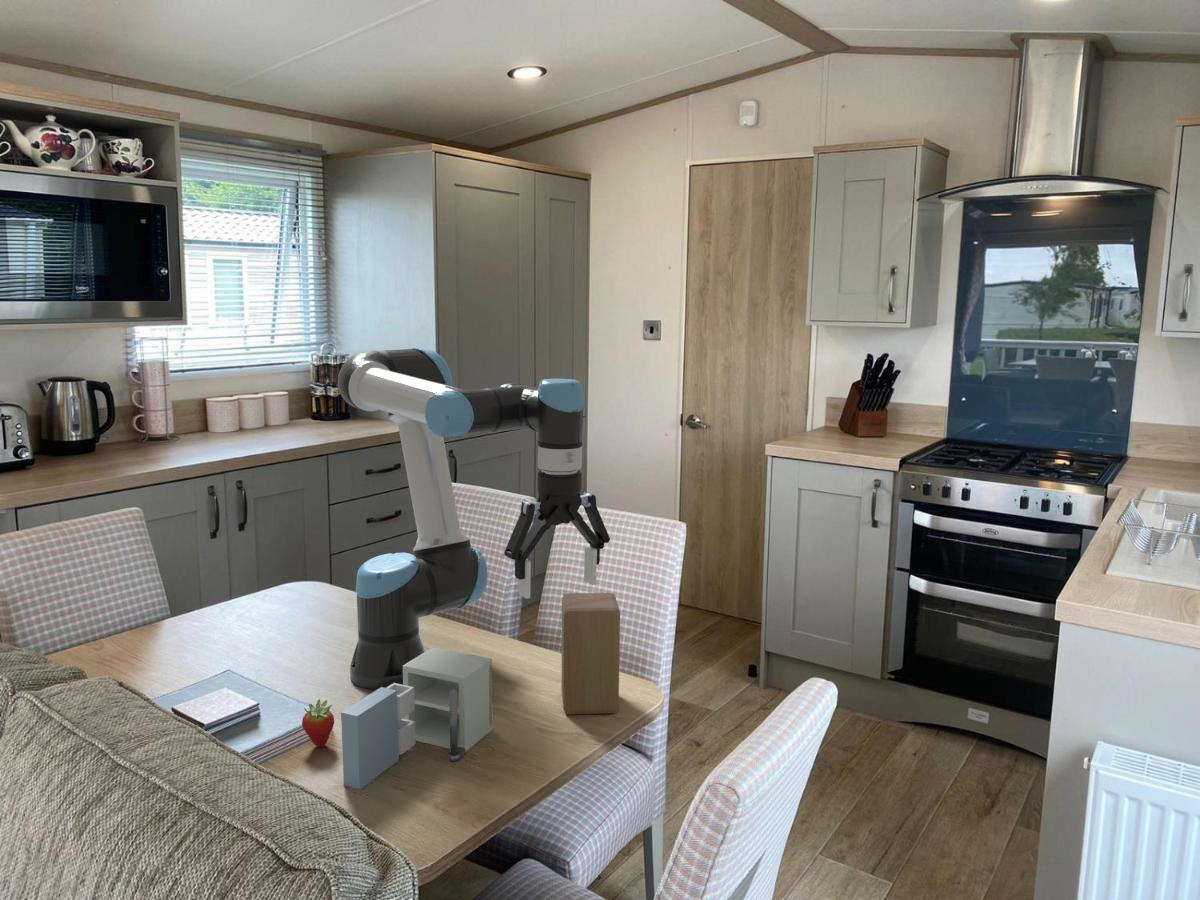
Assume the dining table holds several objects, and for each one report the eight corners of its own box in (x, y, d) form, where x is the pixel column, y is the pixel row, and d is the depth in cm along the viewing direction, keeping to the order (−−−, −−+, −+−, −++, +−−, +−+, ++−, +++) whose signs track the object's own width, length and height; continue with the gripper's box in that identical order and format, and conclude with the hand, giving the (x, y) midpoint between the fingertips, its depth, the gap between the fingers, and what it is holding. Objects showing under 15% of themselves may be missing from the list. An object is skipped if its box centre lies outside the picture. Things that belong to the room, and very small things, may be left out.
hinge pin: (445, 760, 152) (444, 690, 150) (457, 750, 155) (456, 682, 153) (456, 762, 151) (454, 692, 149) (467, 753, 154) (466, 684, 152)
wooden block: (561, 692, 177) (561, 591, 174) (613, 691, 178) (615, 591, 175) (563, 716, 168) (564, 610, 164) (619, 715, 168) (620, 609, 165)
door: (341, 784, 144) (338, 711, 142) (395, 744, 157) (393, 677, 155) (362, 790, 143) (359, 716, 140) (415, 749, 155) (414, 681, 153)
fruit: (305, 756, 152) (303, 710, 151) (301, 742, 157) (299, 697, 156) (337, 750, 154) (335, 705, 153) (332, 736, 159) (331, 692, 158)
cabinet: (404, 737, 159) (402, 665, 157) (434, 716, 167) (432, 647, 165) (464, 752, 154) (464, 678, 152) (492, 729, 162) (492, 658, 160)
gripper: (506, 482, 149) (506, 608, 153) (631, 466, 163) (628, 583, 167) (484, 473, 155) (484, 595, 159) (606, 459, 169) (603, 571, 173)
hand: (557, 589), depth 163 cm, fingers open, 13 cm apart
